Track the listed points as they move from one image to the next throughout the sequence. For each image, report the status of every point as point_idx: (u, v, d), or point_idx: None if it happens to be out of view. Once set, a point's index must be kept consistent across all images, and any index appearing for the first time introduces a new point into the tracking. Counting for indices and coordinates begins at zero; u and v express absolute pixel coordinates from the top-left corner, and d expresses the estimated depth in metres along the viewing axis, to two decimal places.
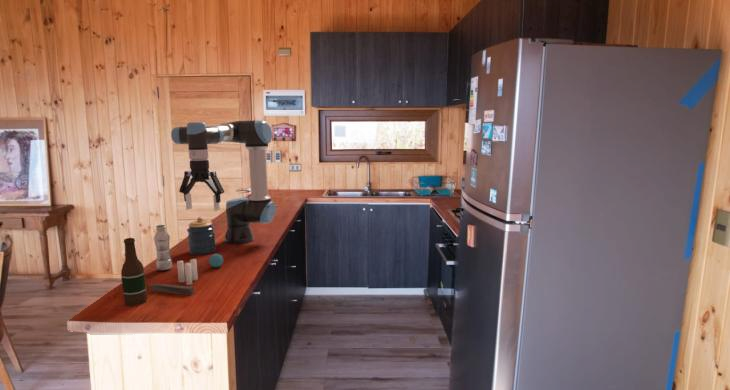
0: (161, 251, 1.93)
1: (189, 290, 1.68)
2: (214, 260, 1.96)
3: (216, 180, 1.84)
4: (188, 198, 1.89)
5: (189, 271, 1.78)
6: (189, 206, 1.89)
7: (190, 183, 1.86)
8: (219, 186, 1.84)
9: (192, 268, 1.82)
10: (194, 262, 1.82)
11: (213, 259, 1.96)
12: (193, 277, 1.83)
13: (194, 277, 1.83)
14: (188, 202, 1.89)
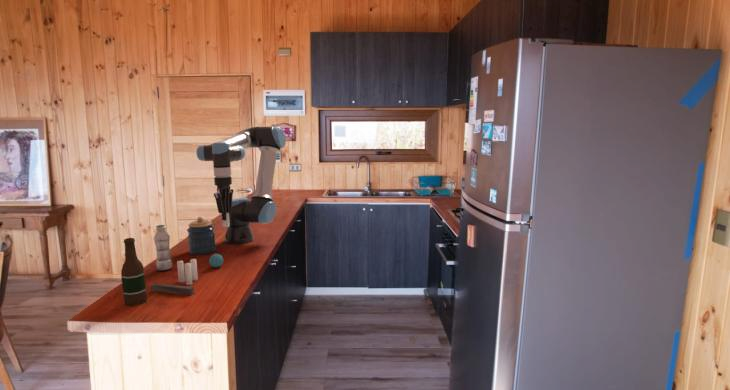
0: (161, 251, 1.93)
1: (189, 290, 1.68)
2: (214, 260, 1.96)
3: (217, 201, 2.00)
4: None
5: (189, 271, 1.78)
6: None
7: None
8: (219, 207, 2.01)
9: (192, 268, 1.82)
10: (194, 262, 1.82)
11: (213, 259, 1.96)
12: (193, 277, 1.83)
13: (194, 277, 1.83)
14: (224, 220, 2.06)
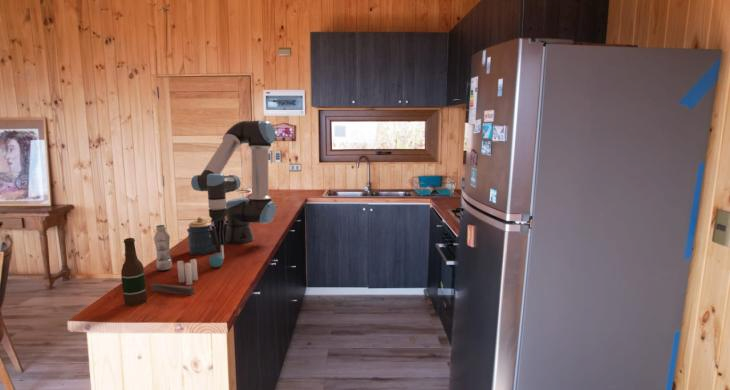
0: (161, 251, 1.93)
1: (189, 290, 1.68)
2: (214, 260, 1.96)
3: (212, 234, 1.96)
4: None
5: (189, 271, 1.78)
6: None
7: None
8: (213, 239, 1.97)
9: (192, 268, 1.82)
10: (194, 262, 1.82)
11: (213, 259, 1.96)
12: (193, 277, 1.83)
13: (194, 277, 1.83)
14: None
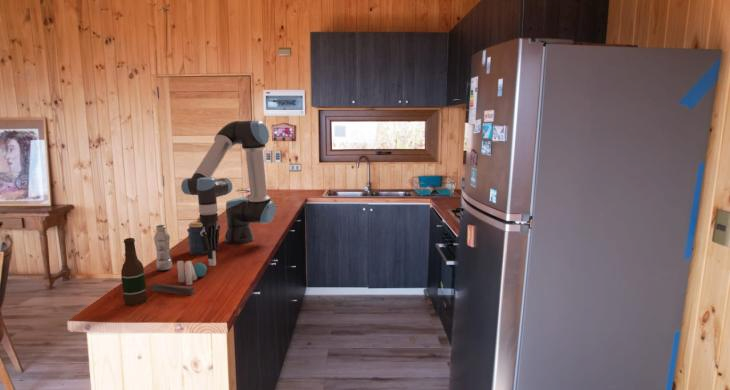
0: (161, 251, 1.93)
1: (189, 290, 1.68)
2: None
3: (203, 240, 1.90)
4: None
5: (189, 271, 1.78)
6: None
7: None
8: (204, 246, 1.91)
9: None
10: None
11: None
12: (192, 278, 1.83)
13: (193, 277, 1.83)
14: None
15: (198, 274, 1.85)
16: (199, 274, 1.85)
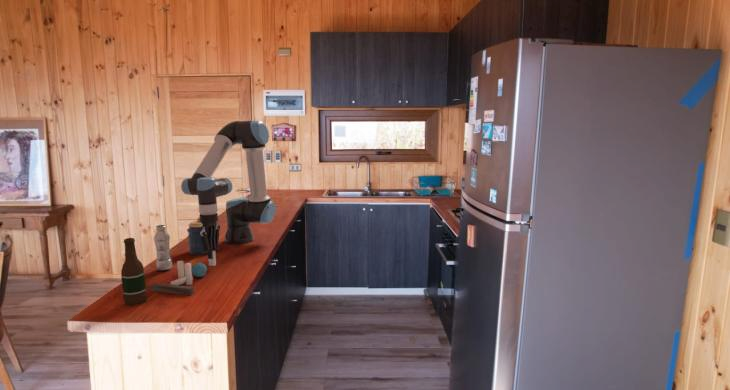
0: (161, 251, 1.93)
1: (189, 290, 1.68)
2: None
3: (203, 240, 1.90)
4: None
5: (189, 271, 1.78)
6: None
7: None
8: (204, 246, 1.91)
9: None
10: (176, 284, 1.77)
11: None
12: None
13: None
14: None
15: (198, 274, 1.85)
16: (199, 274, 1.85)
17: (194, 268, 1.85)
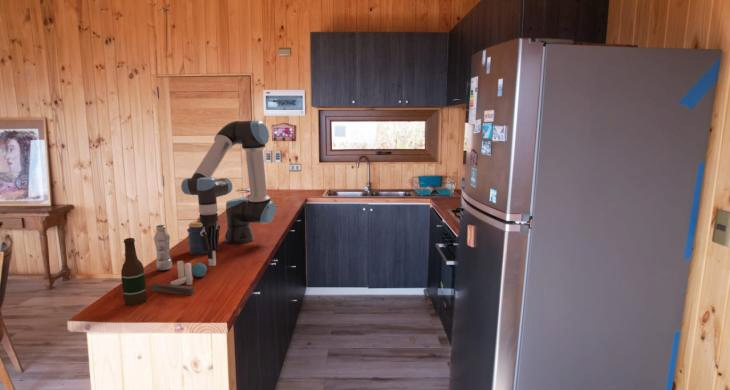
0: (161, 251, 1.93)
1: (189, 290, 1.68)
2: None
3: (203, 240, 1.90)
4: None
5: (189, 271, 1.78)
6: None
7: None
8: (204, 246, 1.91)
9: None
10: (176, 284, 1.77)
11: None
12: None
13: None
14: None
15: (198, 274, 1.85)
16: (199, 274, 1.85)
17: (194, 268, 1.85)
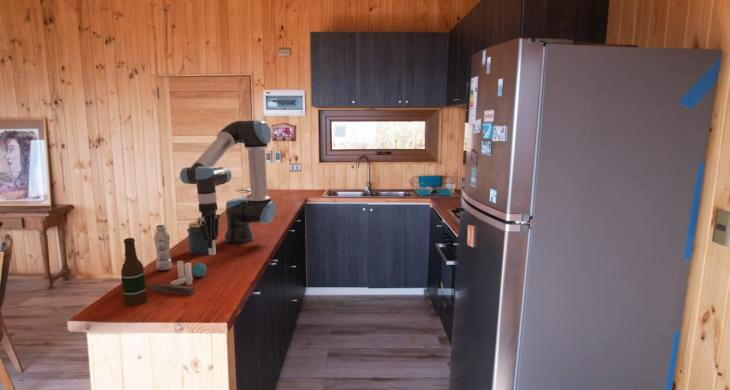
0: (161, 251, 1.93)
1: (189, 290, 1.68)
2: None
3: (202, 229, 1.89)
4: None
5: (189, 271, 1.78)
6: None
7: None
8: (204, 235, 1.90)
9: None
10: (176, 283, 1.77)
11: None
12: None
13: None
14: None
15: (198, 274, 1.85)
16: (199, 274, 1.85)
17: (194, 268, 1.85)
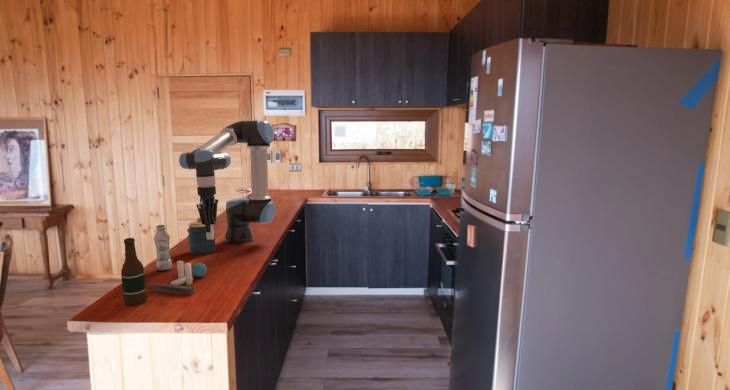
0: (161, 251, 1.93)
1: (189, 290, 1.68)
2: None
3: (200, 213, 1.88)
4: None
5: (189, 271, 1.78)
6: None
7: None
8: (202, 218, 1.89)
9: None
10: (176, 283, 1.77)
11: None
12: None
13: None
14: None
15: (198, 274, 1.85)
16: (199, 274, 1.85)
17: (194, 268, 1.85)
